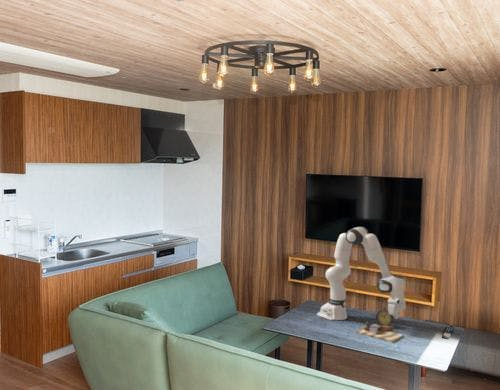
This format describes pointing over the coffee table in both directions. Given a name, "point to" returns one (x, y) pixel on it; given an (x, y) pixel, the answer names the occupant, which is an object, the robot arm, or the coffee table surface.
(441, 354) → the coffee table surface
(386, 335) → the base board
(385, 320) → the alarm clock
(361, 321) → the coffee table surface
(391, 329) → the link
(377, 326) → the keeper
